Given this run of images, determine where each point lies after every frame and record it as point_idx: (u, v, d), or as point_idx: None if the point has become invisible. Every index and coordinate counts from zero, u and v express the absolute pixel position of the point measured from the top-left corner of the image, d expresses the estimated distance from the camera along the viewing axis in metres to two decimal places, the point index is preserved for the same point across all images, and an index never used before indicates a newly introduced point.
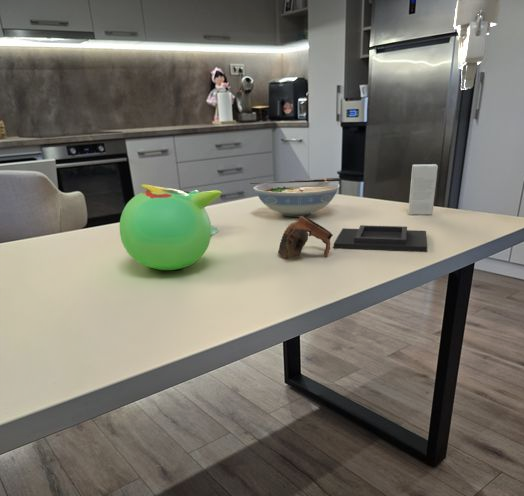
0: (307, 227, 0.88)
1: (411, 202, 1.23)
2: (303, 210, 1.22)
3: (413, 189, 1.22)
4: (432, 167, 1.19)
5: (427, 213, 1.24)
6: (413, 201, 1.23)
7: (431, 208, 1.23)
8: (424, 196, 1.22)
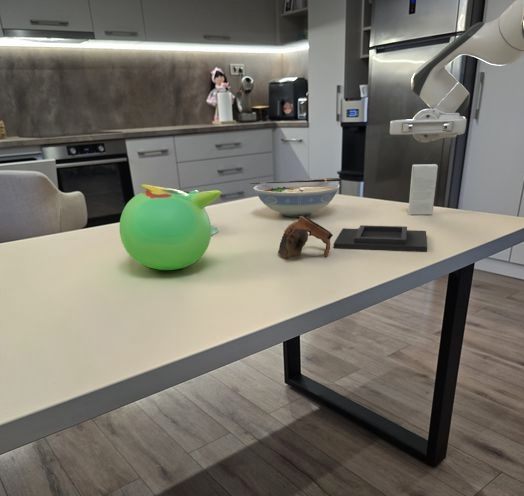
0: (307, 227, 0.88)
1: (411, 202, 1.23)
2: (303, 210, 1.22)
3: (413, 189, 1.22)
4: (432, 167, 1.19)
5: (427, 213, 1.24)
6: (413, 201, 1.23)
7: (431, 208, 1.23)
8: (424, 196, 1.22)
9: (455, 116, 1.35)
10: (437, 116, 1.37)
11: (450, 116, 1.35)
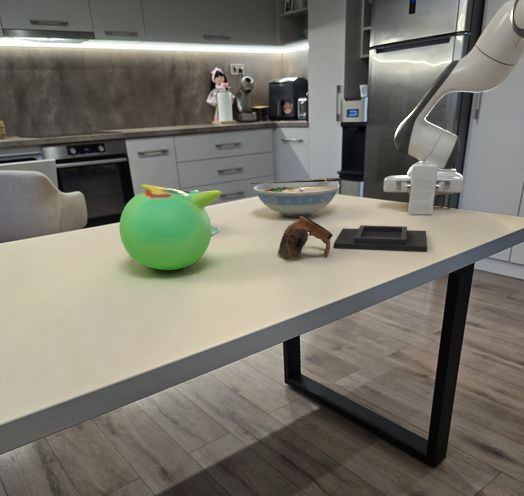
0: (307, 227, 0.88)
1: (411, 202, 1.23)
2: (303, 210, 1.22)
3: (413, 189, 1.22)
4: (432, 167, 1.19)
5: (427, 213, 1.24)
6: (413, 201, 1.23)
7: (431, 208, 1.23)
8: (424, 196, 1.22)
9: (452, 173, 1.29)
10: None
11: (446, 173, 1.29)
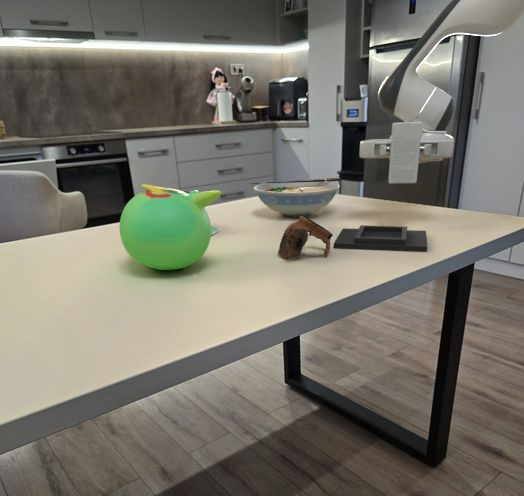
0: (307, 227, 0.88)
1: (391, 168, 1.03)
2: (303, 210, 1.22)
3: (393, 152, 1.01)
4: (415, 124, 0.98)
5: (410, 181, 1.03)
6: (393, 167, 1.03)
7: (415, 175, 1.02)
8: (406, 161, 1.02)
9: (441, 135, 1.08)
10: None
11: (434, 135, 1.08)
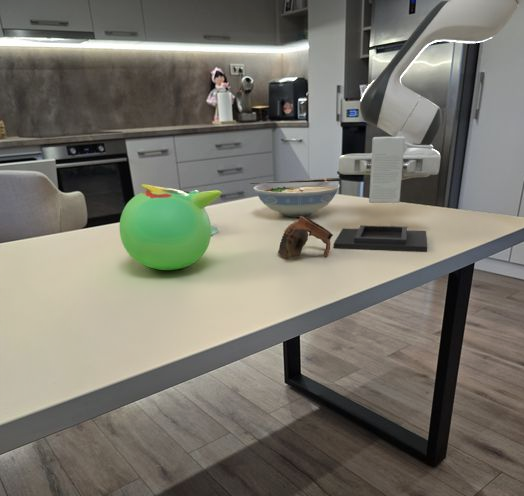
0: (307, 227, 0.88)
1: (372, 186, 0.94)
2: (303, 210, 1.22)
3: (374, 170, 0.93)
4: (397, 139, 0.90)
5: (393, 201, 0.95)
6: (374, 185, 0.94)
7: (397, 194, 0.94)
8: (388, 179, 0.93)
9: (426, 150, 1.00)
10: None
11: (420, 150, 1.00)
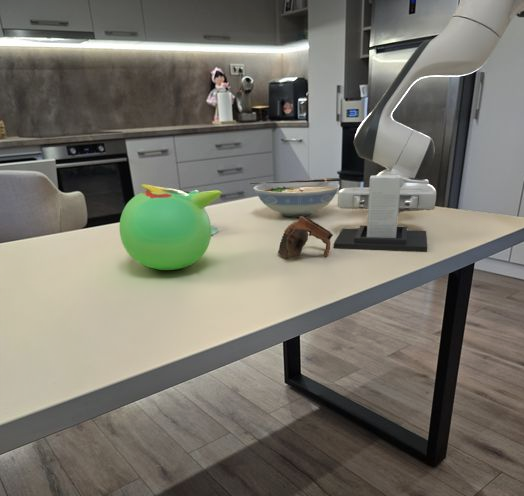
0: (307, 227, 0.88)
1: (369, 223, 0.98)
2: (303, 210, 1.22)
3: (371, 207, 0.96)
4: (394, 179, 0.93)
5: (389, 237, 0.98)
6: (371, 222, 0.97)
7: (394, 230, 0.97)
8: (385, 216, 0.96)
9: (423, 185, 1.03)
10: (400, 184, 1.05)
11: (416, 185, 1.03)
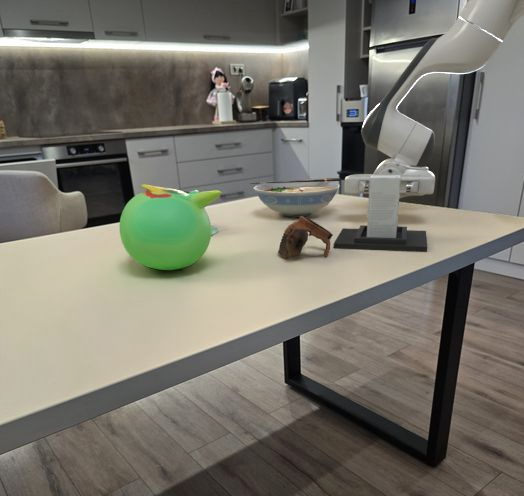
0: (307, 227, 0.88)
1: (369, 223, 0.98)
2: (303, 210, 1.22)
3: (371, 207, 0.96)
4: (394, 179, 0.93)
5: (389, 237, 0.98)
6: (371, 222, 0.97)
7: (394, 230, 0.97)
8: (385, 216, 0.96)
9: (423, 172, 1.12)
10: (402, 171, 1.14)
11: (417, 172, 1.12)
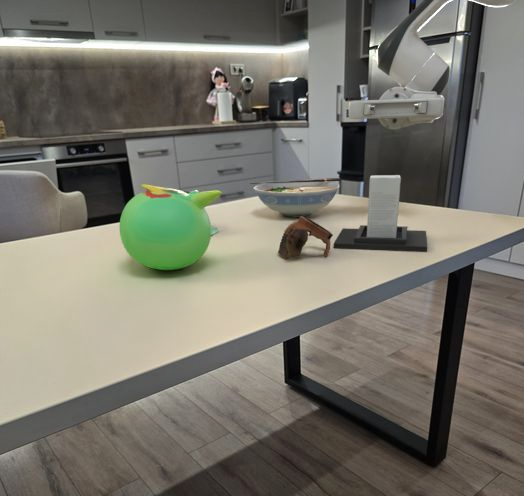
0: (307, 227, 0.88)
1: (369, 223, 0.98)
2: (303, 210, 1.22)
3: (371, 207, 0.96)
4: (394, 179, 0.93)
5: (389, 237, 0.98)
6: (371, 222, 0.97)
7: (394, 230, 0.97)
8: (385, 216, 0.96)
9: (431, 95, 1.06)
10: (409, 96, 1.09)
11: (425, 95, 1.07)
